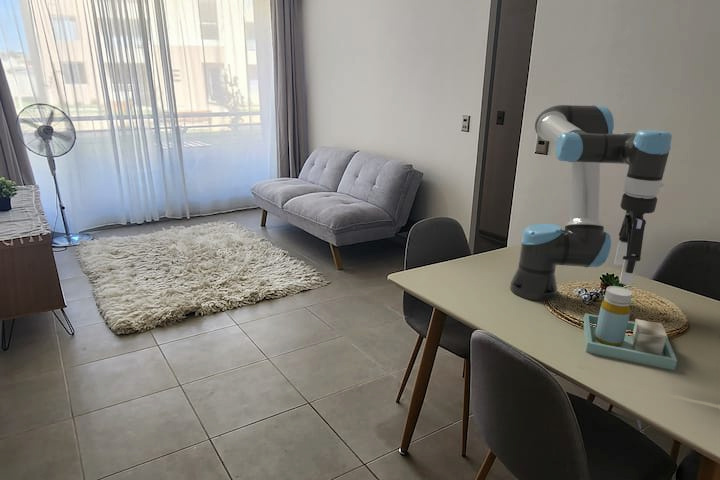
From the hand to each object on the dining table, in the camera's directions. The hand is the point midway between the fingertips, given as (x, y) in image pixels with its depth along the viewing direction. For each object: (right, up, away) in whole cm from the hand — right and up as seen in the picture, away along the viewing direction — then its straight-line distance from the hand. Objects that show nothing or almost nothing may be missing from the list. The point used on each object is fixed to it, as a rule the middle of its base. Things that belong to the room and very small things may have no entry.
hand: (622, 273), depth 121 cm
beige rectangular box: (+8, -20, +3) cm, 22 cm away
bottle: (0, -19, +6) cm, 20 cm away
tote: (+3, -20, +5) cm, 21 cm away
